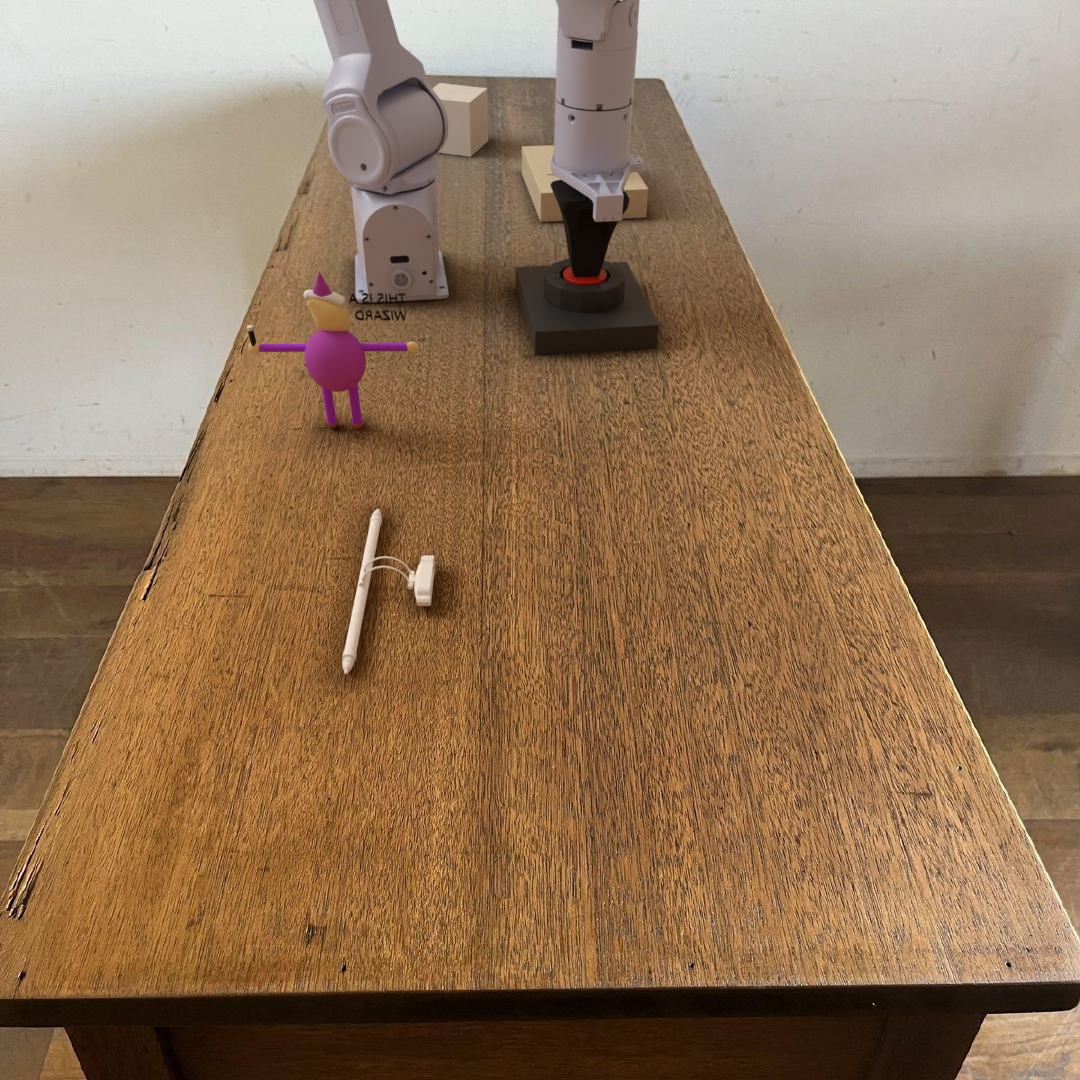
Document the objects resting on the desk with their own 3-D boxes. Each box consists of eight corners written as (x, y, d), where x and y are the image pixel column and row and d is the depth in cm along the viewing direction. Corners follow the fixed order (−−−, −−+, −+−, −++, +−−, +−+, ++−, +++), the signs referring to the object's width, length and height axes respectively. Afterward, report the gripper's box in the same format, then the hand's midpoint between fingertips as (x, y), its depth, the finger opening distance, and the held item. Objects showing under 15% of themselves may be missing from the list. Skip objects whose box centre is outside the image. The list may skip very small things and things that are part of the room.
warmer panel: (646, 217, 101) (648, 187, 99) (540, 222, 99) (540, 191, 97) (617, 170, 111) (619, 141, 109) (521, 173, 110) (521, 144, 108)
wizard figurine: (424, 418, 71) (414, 261, 63) (422, 443, 69) (410, 283, 61) (267, 419, 71) (238, 261, 63) (259, 444, 68) (227, 282, 61)
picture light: (372, 513, 62) (369, 487, 61) (441, 514, 63) (439, 488, 61) (339, 678, 52) (335, 650, 50) (422, 679, 52) (420, 651, 50)
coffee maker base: (656, 349, 80) (661, 304, 77) (534, 356, 78) (535, 310, 76) (625, 284, 89) (628, 241, 86) (515, 290, 87) (515, 247, 85)
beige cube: (470, 157, 114) (469, 102, 110) (422, 150, 115) (419, 96, 111) (488, 141, 118) (487, 87, 114) (442, 135, 120) (439, 82, 116)
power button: (609, 301, 81) (610, 281, 80) (566, 303, 80) (567, 283, 79) (600, 282, 84) (602, 263, 83) (559, 284, 83) (559, 265, 82)
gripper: (671, 129, 67) (653, 311, 76) (625, 71, 78) (614, 236, 87) (570, 132, 66) (563, 316, 75) (538, 73, 77) (535, 239, 86)
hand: (585, 273), depth 81 cm, fingers closed, pressing on power button
